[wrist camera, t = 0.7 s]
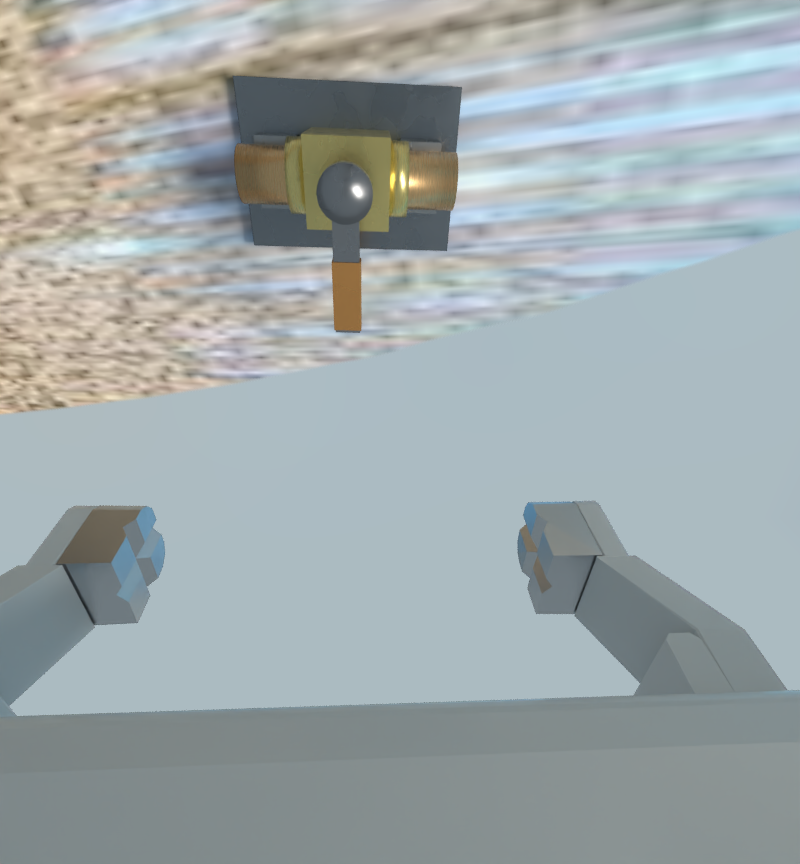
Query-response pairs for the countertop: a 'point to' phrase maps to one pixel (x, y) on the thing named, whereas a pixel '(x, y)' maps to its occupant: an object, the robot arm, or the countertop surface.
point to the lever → (345, 236)
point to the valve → (347, 158)
